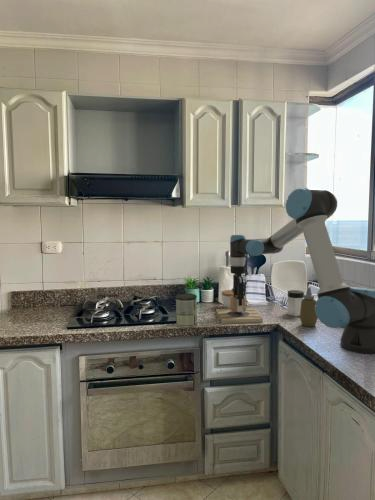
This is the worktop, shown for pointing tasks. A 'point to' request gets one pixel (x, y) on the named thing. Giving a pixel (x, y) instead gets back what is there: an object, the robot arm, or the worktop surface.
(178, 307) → the coffee can
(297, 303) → the jar
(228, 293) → the lidded bowl
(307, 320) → the squeeze bottle
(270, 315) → the worktop surface
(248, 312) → the post stand
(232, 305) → the copper sleeve
